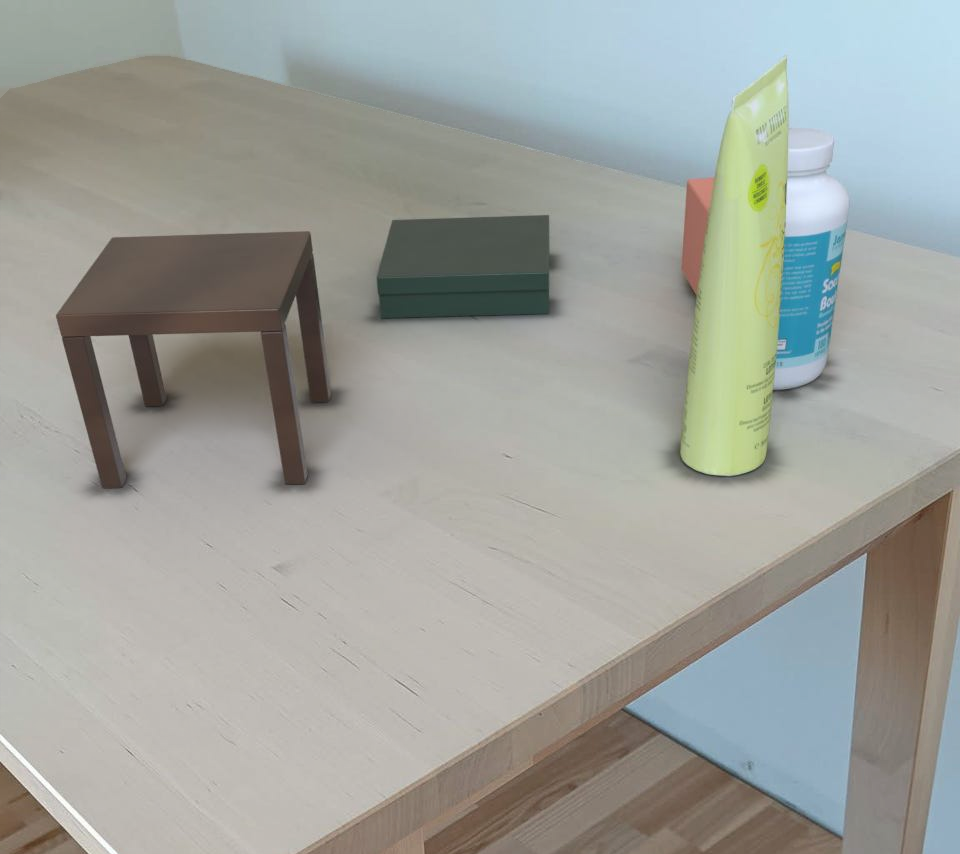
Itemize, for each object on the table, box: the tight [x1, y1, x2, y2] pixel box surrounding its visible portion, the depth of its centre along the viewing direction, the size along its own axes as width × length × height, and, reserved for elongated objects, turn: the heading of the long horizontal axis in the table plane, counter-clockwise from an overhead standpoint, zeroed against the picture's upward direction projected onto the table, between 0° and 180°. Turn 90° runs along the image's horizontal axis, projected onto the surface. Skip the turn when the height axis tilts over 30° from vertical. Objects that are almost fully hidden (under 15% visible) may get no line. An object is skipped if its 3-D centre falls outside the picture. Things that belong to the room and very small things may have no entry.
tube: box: [679, 54, 790, 477], centre depth 67 cm, size 6×5×20 cm
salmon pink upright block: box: [681, 176, 715, 297], centre depth 88 cm, size 8×12×8 cm, turn 5°
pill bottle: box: [773, 127, 850, 391], centre depth 77 cm, size 8×7×14 cm
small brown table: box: [55, 230, 332, 489], centre depth 75 cm, size 12×12×10 cm
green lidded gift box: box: [376, 214, 550, 319], centre depth 93 cm, size 12×12×3 cm
